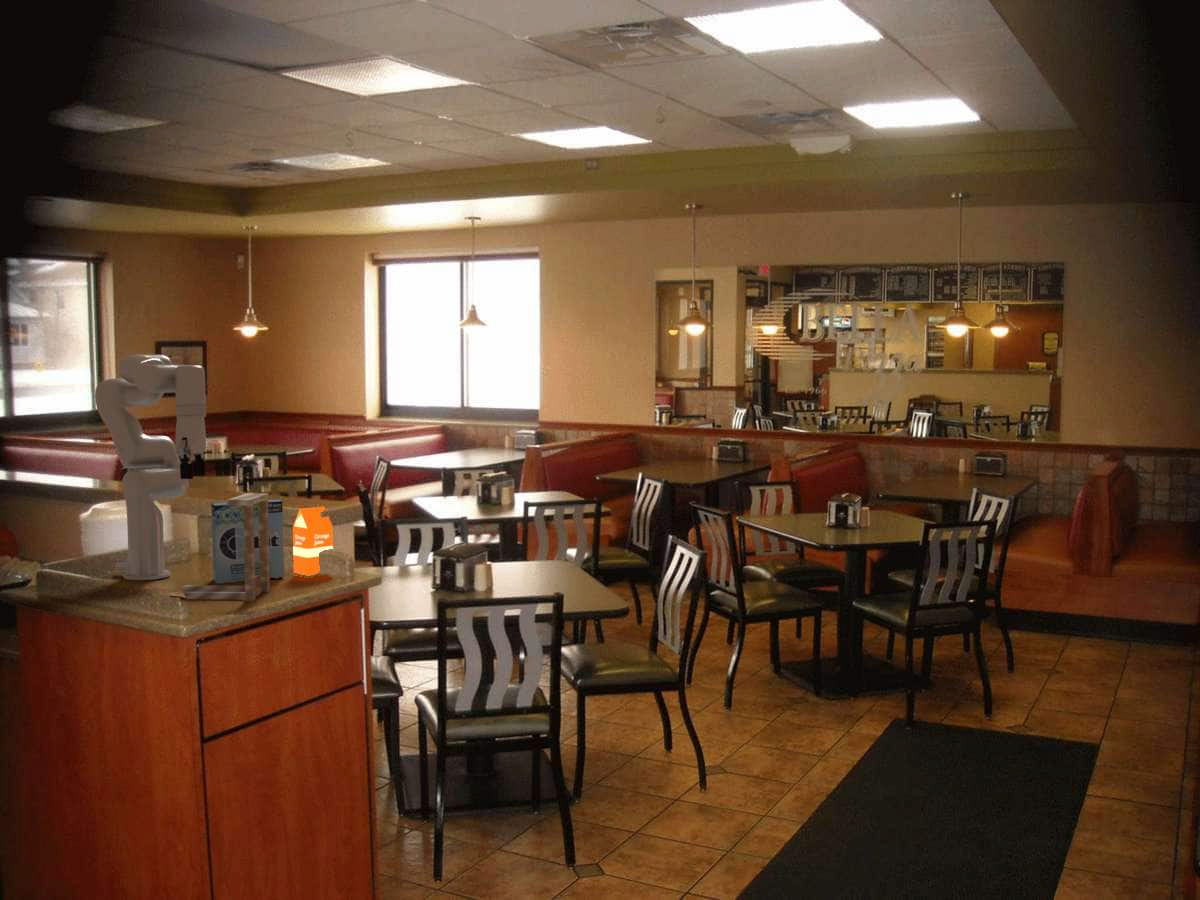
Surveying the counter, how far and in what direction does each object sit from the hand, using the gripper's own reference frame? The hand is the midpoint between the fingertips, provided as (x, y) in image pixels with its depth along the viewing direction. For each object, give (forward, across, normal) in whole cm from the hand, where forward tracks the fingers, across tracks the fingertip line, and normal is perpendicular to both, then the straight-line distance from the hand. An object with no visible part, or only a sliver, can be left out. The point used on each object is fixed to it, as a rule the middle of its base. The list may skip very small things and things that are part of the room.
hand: (193, 476), depth 299 cm
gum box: (+32, -23, +6) cm, 40 cm away
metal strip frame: (+32, 0, +4) cm, 33 cm away
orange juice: (+32, -32, +22) cm, 51 cm away
